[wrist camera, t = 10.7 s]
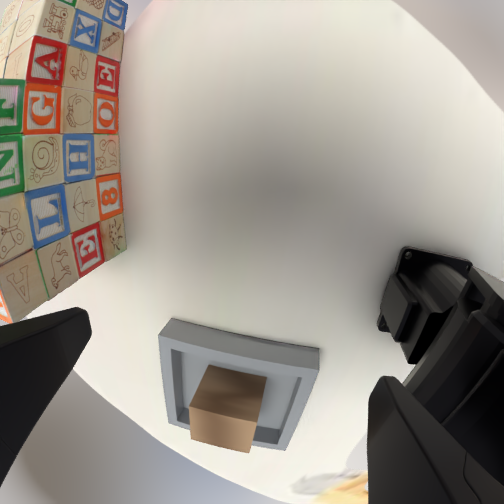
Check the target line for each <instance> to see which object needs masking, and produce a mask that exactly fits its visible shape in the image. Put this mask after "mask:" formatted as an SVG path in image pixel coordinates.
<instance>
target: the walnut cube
mask: <svg viewBox="0 0 504 504" xmlns="http://www.w3.org/2000/svg"><path fill="white" fill-rule="evenodd" d="M266 379H267V377H264V376H259V375H254V374H249V373H244V372H240V371H235V370H231V369H226V368H222V367H218V366H214V365H210V364H209V365H208V367H207V369H206V371H205V373H204V375H203V377H202V379H201V381H200V384H199V386H198V388H197V390H196V392H195V394H194V396H193V398H192V401H191V403H190V405H189V418H190V433H191V439H193V440H196V441H199V442H203V443H207V444H210V445H214V446H218V447H222V448H226V449H231V450H235V451H240V452H245V453H249V452H250V448H251V444H252V441H253V437H254V433H255V429H256V426H257V421H258V417H259V412H260V408H261V403H262V398H263V394H264V389H265V384H266Z"/></svg>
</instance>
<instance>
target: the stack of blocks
mask: <svg viewBox="0 0 504 504" xmlns="http://www.w3.org/2000/svg"><path fill="white" fill-rule="evenodd" d="M127 9H128V4H126V3H125V2H123V1H122V0H14V1H13V2H12V3H11V4H10V5H9V6H8V7H7V8H6V9H5V11H4V15H3V18H2V21H1V24H0V319H1V320H3V321H5V322H8V323H10V324H11V323H15V322H19V321H20V320H21V319H22V318H24V317H25V316H27V315H28V314H29V313H30V312H32V311H33V310H35V309H36V308H37V307H39V306H40V305H41V304H43V303H44V302H46V301H49V300H50V299H52V298H53V297H55V296H56V295H57V294H58V293H61V292H62V291H63V290H65V289H66V288H68V287H70V286H71V285H72V284H74V283H75V282H77V281H78V279H80V278H82V277H83V276H85V275H86V274H88V273H89V272H91V271H92V270H94V269H95V268H97V267H98V266H100V265H101V264H103V263H104V262H107V261H108V260H110V259H112V258H113V257H115V256H117V255H118V254H120V253H121V252H123V251H125V250H126V249H127V246H126V239H125V231H124V222H123V203H122V191H121V175H120V147H119V135H118V97H117V96H118V85H119V69H120V65H119V63H120V61H121V55H122V45H123V37H124V29H125V22H126V15H127Z"/></svg>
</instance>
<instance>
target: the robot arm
mask: <svg viewBox="0 0 504 504" xmlns="http://www.w3.org/2000/svg"><path fill="white" fill-rule="evenodd" d="M407 252H410V255H409V256H408V257H405V254H406V253H407ZM467 265H468V268H467V269H466V266H467ZM380 309H381V314H380V317H379V319H378V322H377V326H378V329H379V330H380V331H382V332H390V333H391V334H392V337H393V339H394V341H395V342H398V343H400V345H401V347H402V350H403V352H404V355H405V357H406V360H407V362H408V364H415V365H416V366H415V367H414V369H413V370H412V371H411V373H410V374H409V375H408V377H407V378H406V379H405V381H404V382H403V383H402V384H401V383H400V382H399V380H398V379H397V378H395V377H393V376H382V377H380V378H379V380H378V382H377V384H376V386H375V387H374V389H373V391H372V393H371V395H370V397H369V402H368V432H367V460H368V504H504V282H503V281H501V280H499V279H497V278H495V277H493V276H492V275H490V274H488V273H486V272H484V271H482V270H480V269H478V268H476V267H474V266H473V264H472V263H471V262H470V261H469V260H466V259H462V258H457V257H453V256H449V255H444V254H440V253H436V252H431V251H427V250H422V249H418V248H413V247H404V248H403V249H402V250H401V252H400V255H399V259H398V262H397V265H396V269H395V272H394V274H393V275H392V276H390V279H389V282H388V285H387V288H386V291H385V294H384V297H383V300H382V303H381V306H380ZM383 323H386V325H384V326H381V325H382V324H383ZM91 335H92V330H91V325H90V320H89V315H88V313H87V311H86V310H84V309H81V308H79V307H74V308H70V309H66V310H62V311H58V312H54V313H50V314H47V315H43V316H39V317H35V318H31V319H27V320H23V321H19V322H15V323H11V324H7V325H3V326H0V487H1V485H2V483H3V481H4V479H5V477H6V475H7V473H8V471H9V470H10V467H11V466H12V464H13V462H14V460H15V459H16V457H17V456H16V455H18V453H19V451H20V449H21V448H22V446H23V444H24V443H25V441H26V439H27V438H28V436H29V434H30V433H31V431H32V429H33V428H34V426H35V424H36V423H37V421H38V420H39V418H40V417H41V415H42V414H43V412H44V410H45V409H46V407H47V406H48V404H49V403H50V401H51V400H52V398H53V397H54V395H55V394H56V392H57V391H58V389H59V388H60V387H61V385H62V384H63V382H64V381H65V379H66V378H67V376H68V375H69V374H70V372H71V370H72V369H73V367H74V365H75V364H76V362H77V360H78V358H79V357H80V355H81V353H82V351H83V350H84V348H85V346H86V345H87V343H88V341H89V340H90V338H91Z"/></svg>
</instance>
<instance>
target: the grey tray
mask: <svg viewBox="0 0 504 504" xmlns="http://www.w3.org/2000/svg"><path fill="white" fill-rule="evenodd" d="M158 339H159V351H160V361H161V371H162V379H163V388H164V395H165V402H166V409H167V416H168V422H169V423H170V424H173V425H176V426H179V427H182V428H185V429H188V430H190V418H189V405H190V403H191V401H192V398H193V396H194V394H195V392H196V390H197V388H198V386H199V384H200V381H201V379H202V377H203V375H204V373H205V371H206V369H207V367H208V365H209V364H210V365H214V366H218V367H222V368H226V369H231V370H235V371H240V372H244V373H249V374H254V375H259V376H264V377H267V379H266V384H265V389H264V394H263V398H262V403H261V408H260V412H259V417H258V421H257V426H256V429H255V433H254V437H253V441H252V444H251V445H253V446H258V447H264V448H270V449H277V450H284V451H285V450H286V448H287V446H288V444H289V442H290V440H291V438H292V435H293V433H294V431H295V429H296V426H297V424H298V422H299V419H300V417H301V415H302V412H303V410H304V408H305V405H306V403H307V400H308V398H309V395H310V393H311V390H312V388H313V385H314V383H315V380H316V377H317V375H318V372H319V349H317V348H310V347H304V346H298V345H292V344H286V343H280V342H275V341H269V340H264V339H259V338H254V337H249V336H244V335H239V334H235V333H230V332H225V331H221V330H217V329H212V328H208V327H204V326H200V325H196V324H192V323H188V322H184V321H180V320H176V319H172V318H171V319H170V321H169V322H168V323H167V324H166V326H165V327H164V328H163V329H162V331H161V332H160V333H159V335H158Z"/></svg>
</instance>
